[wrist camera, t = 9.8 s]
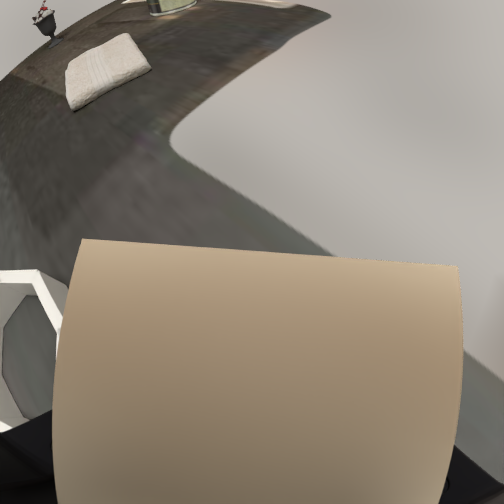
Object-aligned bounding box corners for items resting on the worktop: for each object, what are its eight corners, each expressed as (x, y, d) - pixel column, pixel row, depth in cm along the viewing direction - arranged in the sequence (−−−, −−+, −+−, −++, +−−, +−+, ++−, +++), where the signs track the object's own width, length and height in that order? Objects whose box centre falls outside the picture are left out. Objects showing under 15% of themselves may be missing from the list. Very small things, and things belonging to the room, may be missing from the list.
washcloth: (130, 41, 36) (125, 27, 33) (156, 73, 30) (149, 55, 27) (70, 72, 34) (64, 60, 31) (74, 117, 28) (64, 101, 25)
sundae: (70, 35, 45) (52, -5, 31) (49, 50, 43) (30, 10, 29) (62, 36, 46) (45, -1, 33) (43, 50, 45) (24, 13, 31)
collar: (102, 456, 14) (75, 467, 11) (-1, 414, 14) (-27, 414, 11) (102, 284, 19) (75, 268, 16) (3, 283, 19) (-21, 271, 16)
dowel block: (303, 429, 12) (400, 583, 1) (214, 421, 12) (66, 543, 1) (312, 345, 14) (457, 265, 3) (224, 338, 14) (82, 239, 3)
